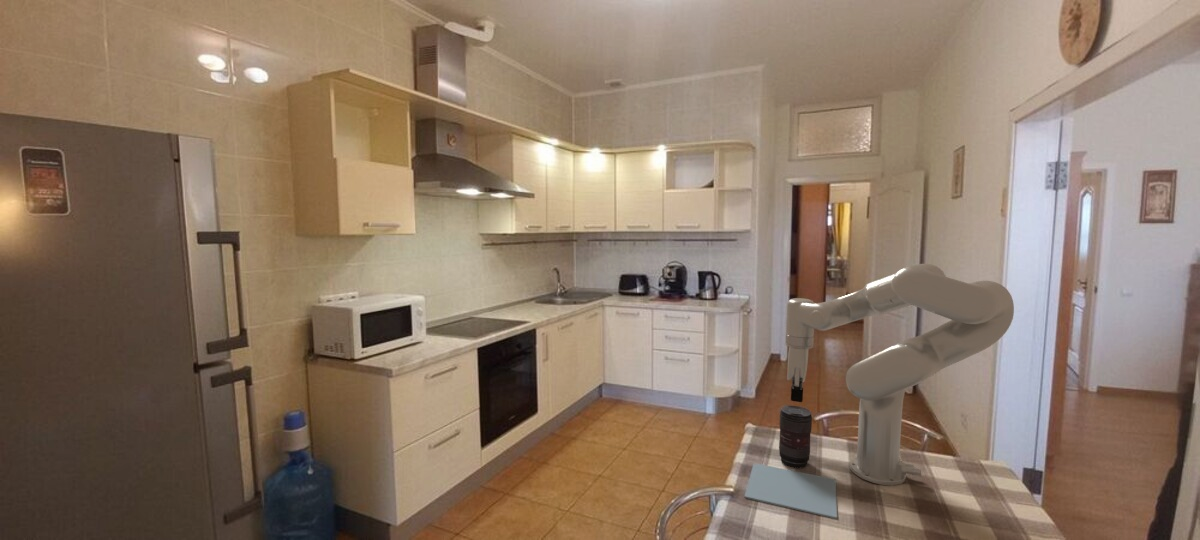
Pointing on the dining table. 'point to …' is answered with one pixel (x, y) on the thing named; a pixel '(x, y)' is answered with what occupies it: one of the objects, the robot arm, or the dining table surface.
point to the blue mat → (793, 490)
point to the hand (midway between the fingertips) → (796, 400)
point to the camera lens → (795, 436)
